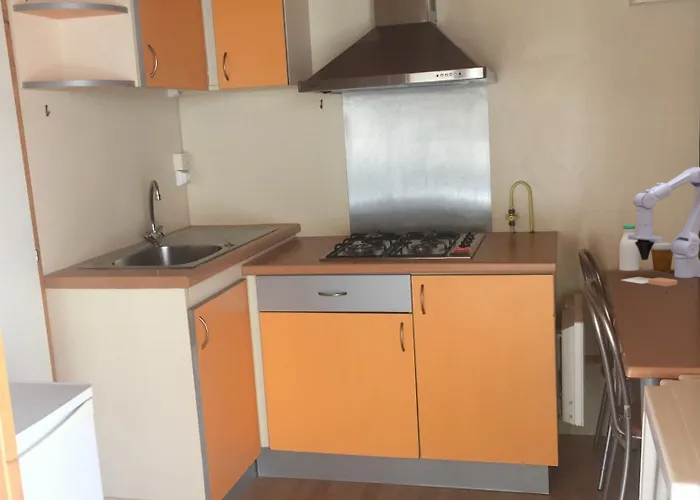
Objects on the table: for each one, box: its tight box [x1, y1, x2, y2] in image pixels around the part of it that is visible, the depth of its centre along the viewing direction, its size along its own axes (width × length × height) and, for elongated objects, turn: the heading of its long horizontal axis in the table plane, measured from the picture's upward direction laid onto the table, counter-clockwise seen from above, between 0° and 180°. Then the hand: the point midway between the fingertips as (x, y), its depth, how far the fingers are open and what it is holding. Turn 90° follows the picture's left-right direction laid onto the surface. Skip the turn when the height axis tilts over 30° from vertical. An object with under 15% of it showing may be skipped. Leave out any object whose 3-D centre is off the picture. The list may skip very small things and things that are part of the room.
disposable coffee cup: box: [650, 241, 674, 274], centre depth 309 cm, size 10×10×12 cm
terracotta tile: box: [647, 276, 678, 287], centre depth 280 cm, size 6×8×2 cm
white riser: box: [621, 276, 651, 284], centre depth 289 cm, size 10×10×2 cm
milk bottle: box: [618, 224, 640, 272], centre depth 312 cm, size 8×8×20 cm
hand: (644, 259), depth 288 cm, fingers closed
